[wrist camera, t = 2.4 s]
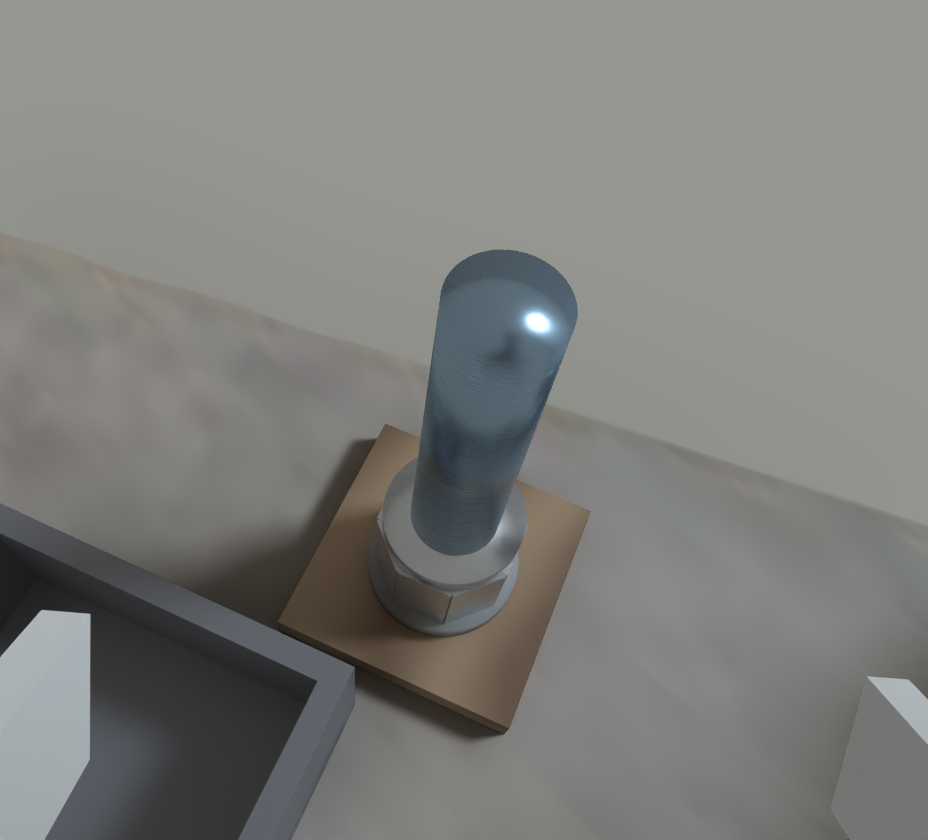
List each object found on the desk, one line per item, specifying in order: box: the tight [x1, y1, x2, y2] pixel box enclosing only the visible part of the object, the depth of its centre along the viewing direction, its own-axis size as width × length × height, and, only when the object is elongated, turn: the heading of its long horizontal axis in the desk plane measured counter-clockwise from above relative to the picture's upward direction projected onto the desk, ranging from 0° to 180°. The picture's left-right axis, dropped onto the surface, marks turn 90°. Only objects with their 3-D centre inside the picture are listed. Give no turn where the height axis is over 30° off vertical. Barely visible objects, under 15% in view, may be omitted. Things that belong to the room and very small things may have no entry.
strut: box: [375, 250, 577, 624], centre depth 31 cm, size 6×6×19 cm
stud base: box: [277, 424, 591, 734], centre depth 38 cm, size 11×11×6 cm
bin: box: [0, 504, 355, 840], centre depth 32 cm, size 16×16×7 cm
